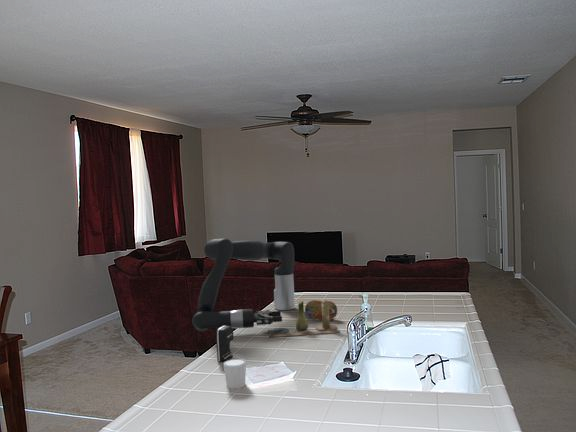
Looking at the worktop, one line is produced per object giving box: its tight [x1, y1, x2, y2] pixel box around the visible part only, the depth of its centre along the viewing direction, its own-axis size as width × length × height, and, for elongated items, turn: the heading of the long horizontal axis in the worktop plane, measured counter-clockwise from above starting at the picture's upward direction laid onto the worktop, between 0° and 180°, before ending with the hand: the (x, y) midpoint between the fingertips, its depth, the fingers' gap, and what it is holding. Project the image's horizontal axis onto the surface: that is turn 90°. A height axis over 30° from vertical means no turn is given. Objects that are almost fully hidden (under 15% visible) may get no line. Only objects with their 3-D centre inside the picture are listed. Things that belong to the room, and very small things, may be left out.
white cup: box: [223, 358, 247, 390], centre depth 156 cm, size 7×7×7 cm
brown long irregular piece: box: [267, 299, 341, 339], centre depth 212 cm, size 29×12×12 cm, turn 95°
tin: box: [304, 300, 338, 321], centre depth 231 cm, size 15×3×8 cm, turn 62°
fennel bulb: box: [295, 300, 309, 332], centre depth 214 cm, size 6×5×12 cm
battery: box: [215, 326, 234, 362], centre depth 180 cm, size 7×4×11 cm, turn 158°
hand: (281, 316), depth 213 cm, fingers open, 8 cm apart
